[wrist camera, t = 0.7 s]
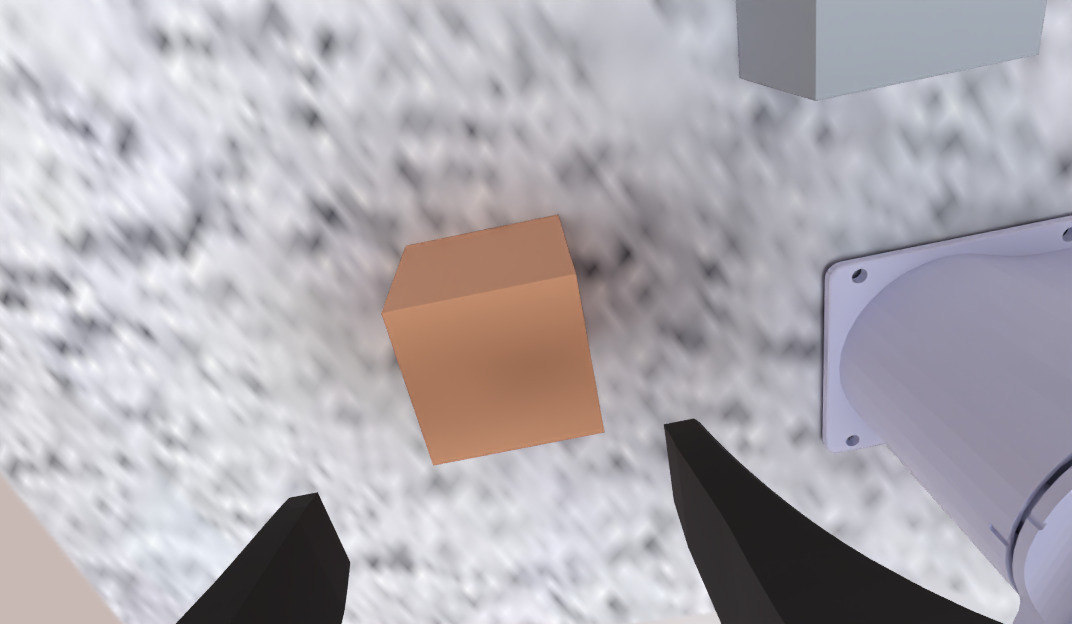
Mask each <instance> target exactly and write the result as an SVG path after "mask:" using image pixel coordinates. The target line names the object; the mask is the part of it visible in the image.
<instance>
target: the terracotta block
mask: <svg viewBox="0 0 1072 624" xmlns="http://www.w3.org/2000/svg"><path fill="white" fill-rule="evenodd" d="M381 314H382V317H383V320H384V323H385V325H386V328H387V331H388V334H389V337H390V340H391V343H392V346H393V349H394V352H395V355H396V358H397V361H398V363H399V366H400V369H401V372H402V375H403V378H404V381H405V384H406V387H407V390H408V393H409V396H410V399H411V402H412V404H413V407H414V410H415V413H416V416H417V419H418V422H419V425H420V428H421V431H422V434H423V437H424V440H425V443H426V445H427V448H428V451H429V454H430V457H431V460H432V463H433V465H438V464H443V463H448V462H454V461H459V460H464V459H469V458H474V457H479V456H485V455H490V454H495V453H500V452H505V451H510V450H516V449H521V448H526V447H531V446H536V445H541V444H547V443H552V442H557V441H562V440H567V439H572V438H578V437H583V436H588V435H593V434H598V433H603V432H604V428H603V422H602V416H601V411H600V405H599V400H598V394H597V388H596V383H595V377H594V372H593V366H592V361H591V355H590V349H589V344H588V338H587V333H586V327H585V321H584V316H583V310H582V305H581V299H580V294H579V288H578V282H577V277H576V272H575V269H574V266H573V262H572V259H571V256H570V252H569V249H568V246H567V242H566V239H565V236H564V233H563V229H562V226H561V223H560V219H559V216H558V215H554V216H549V217H544V218H539V219H534V220H529V221H524V222H520V223H515V224H510V225H505V226H500V227H495V228H490V229H486V230H481V231H476V232H471V233H466V234H461V235H456V236H451V237H447V238H442V239H437V240H432V241H427V242H422V243H417V244H412V245H408V246H406V247H405V250H404V252H403V255H402V258H401V261H400V263H399V266H398V269H397V272H396V274H395V277H394V280H393V283H392V285H391V288H390V291H389V293H388V296H387V299H386V302H385V304H384V307H383V310H382V313H381Z"/></svg>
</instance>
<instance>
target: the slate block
mask: <svg viewBox="0 0 1072 624" xmlns="http://www.w3.org/2000/svg"><path fill="white" fill-rule="evenodd" d="M1046 3H1047V0H736V12H737V34H738V57H739V78H742V79H745V80H748V81H751V82H755V83H758V84H761V85H765V86H768V87H771V88H775V89H778V90H781V91H785V92H788V93H791V94H794V95H798V96H801V97H804V98H808V99H811V100H814V101H818V100H822V99H827V98H832V97H837V96H842V95H846V94H851V93H856V92H861V91H866V90H870V89H875V88H880V87H885V86H890V85H894V84H899V83H904V82H909V81H914V80H918V79H923V78H928V77H933V76H938V75H942V74H947V73H952V72H957V71H962V70H966V69H971V68H976V67H981V66H986V65H990V64H995V63H1000V62H1005V61H1010V60H1014V59H1019V58H1024V57H1029V56H1034V55H1038V54H1039V48H1040V42H1041V35H1042V29H1043V22H1044V16H1045V9H1046Z"/></svg>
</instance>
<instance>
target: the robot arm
mask: <svg viewBox="0 0 1072 624" xmlns="http://www.w3.org/2000/svg"><path fill="white" fill-rule="evenodd" d="M1068 228H1069V230H1068V232H1067V233H1066V234H1065V235H1064V236H1063V233H1064V232H1065V231H1066V230H1067V229H1068ZM859 269H861V273H860V275H859V276H858V277H856V278H854V279H852V275H853V273H854V272H855V271H856V270H859ZM664 429H665V436H666V444H667V452H668V459H669V467H670V475H671V482H672V490H673V498H674V503H675V506H676V509H677V512H678V516H679V519H680V522H681V526H682V529H683V532H684V535H685V538H686V542H687V545H688V548H689V550H690V552H691V555H692V557H693V559H694V562H695V564H696V566H697V569H698V571H699V573H700V576H701V578H702V580H703V583H704V585H705V587H706V589H707V592H708V594H709V596H710V599H711V601H712V603H713V605H714V608H715V610H716V612H717V615H718V617H719V619H720V621H721V624H1003V623H1001V622H998V621H996V620H993V619H991V618H988V617H986V616H983V615H981V614H979V613H976V612H974V611H971V610H969V609H967V608H965V607H963V606H961V605H958V604H956V603H954V602H952V601H950V600H948V599H946V598H944V597H941V596H939V595H937V594H935V593H933V592H931V591H929V590H927V589H925V588H923V587H921V586H919V585H917V584H915V583H913V582H911V581H910V580H908V579H906V578H904V577H902V576H900V575H899V574H897V573H895V572H893V571H891V570H889V569H888V568H886V567H884V566H882V565H880V564H878V563H877V562H875V561H873V560H871V559H869V558H868V557H866V556H864V555H863V554H861V553H860V552H858V551H856V550H855V549H853V548H851V547H850V546H848V545H847V544H845V543H843V542H842V541H840V540H839V539H837V538H836V537H834V536H833V535H831V534H830V533H828V532H827V531H825V530H824V529H822V528H821V527H820V526H818V525H817V524H815V523H814V522H812V521H811V520H810V519H808V518H807V517H806V516H804V515H803V514H801V513H800V512H799V511H797V510H796V509H795V508H794V507H792V506H791V505H790V504H788V503H787V502H786V501H785V500H783V499H782V498H781V497H779V496H778V495H777V494H776V493H774V492H773V491H772V490H771V489H770V488H768V487H767V486H766V485H765V484H764V483H763V482H761V481H760V480H759V479H758V478H757V477H756V476H754V475H753V474H752V473H751V472H750V471H749V470H748V469H746V468H745V467H744V466H743V465H742V464H741V463H740V462H739V461H738V460H737V459H735V458H734V457H733V456H732V455H731V454H730V453H729V452H728V451H727V450H726V449H725V448H724V447H723V446H722V445H721V444H720V443H719V442H718V441H717V440H716V439H715V438H714V437H713V436H712V435H711V434H710V433H709V432H708V431H707V430H706V429H705V428H704V426H703V425H702V424H701V423H700V422H698V421H697V420H695V419H689V420H684V421H679V422H674V423H669V424H664ZM852 435H853V437H852V438H851V439H848V440H847V438H848V437H850V436H852ZM822 440H823V444H824V445H825V447H826V448H827V449H828V450H829V451H830V452H833V453H839V452H844V451H850V450H855V449H860V448H865V447H871V446H876V445H881V444H886V446H887V447H888V448H889V449H890V450H891V451H892V452H893V453H894V455H895V456H896V457H897V458H898V459H899V460H900V461H901V462H902V464H903V465H904V466H905V467H906V468H907V469H908V470H909V471H910V473H911V474H912V475H913V476H914V477H915V478H916V479H917V480H918V482H919V483H920V484H921V485H922V486H923V487H924V488H925V490H926V491H927V492H928V493H929V494H930V495H931V496H932V497H933V499H934V500H935V501H936V502H937V503H938V504H939V505H940V506H941V508H942V509H943V510H944V511H945V512H946V513H947V514H948V515H949V517H950V518H951V519H952V520H953V521H954V522H955V523H956V524H957V526H958V527H959V528H960V529H961V530H962V531H963V532H964V533H965V535H966V536H967V537H968V538H969V539H970V540H971V541H972V542H973V544H974V545H975V546H976V547H977V548H978V549H979V550H980V551H981V553H982V554H983V555H984V556H985V557H986V558H987V559H988V560H989V562H990V563H991V564H992V565H993V566H994V567H995V568H996V569H997V571H998V572H999V573H1000V574H1001V575H1002V576H1003V577H1004V579H1005V580H1006V581H1007V582H1008V583H1009V584H1010V585H1011V586H1012V588H1013V589H1014V590H1015V591H1016V592H1017V593H1018V594H1019V596H1020V608H1019V611H1018V613H1017V615H1016V617H1015V619H1014V621H1013V624H1072V215H1071V216H1066V217H1061V218H1056V219H1051V220H1046V221H1041V222H1036V223H1031V224H1026V225H1021V226H1016V227H1011V228H1006V229H1001V230H996V231H991V232H986V233H981V234H976V235H971V236H966V237H961V238H956V239H951V240H946V241H941V242H936V243H931V244H926V245H921V246H916V247H911V248H906V249H901V250H896V251H891V252H886V253H881V254H876V255H871V256H866V257H861V258H856V259H851V260H846V261H841V262H838V263H835V264H834V265H832V266H831V267H830V268H829V269H828V271H827V272H826V276H825V310H824V375H823V439H822ZM349 569H350V561H349V559H348V557H347V554H346V552H345V550H344V548H343V546H342V544H341V542H340V539H339V537H338V535H337V533H336V531H335V529H334V526H333V524H332V522H331V520H330V518H329V516H328V514H327V511H326V509H325V507H324V505H323V503H322V501H321V499H320V496H319V494H318V492H317V493H312V494H306V495H301V496H296V497H291V498H289V499H288V500H287V501H286V502H285V503H284V504H283V505H282V506H281V507H280V508H279V509H278V510H277V511H276V513H275V514H274V515H273V516H272V517H271V518H270V519H269V521H268V522H267V523H266V524H265V525H264V526H263V527H262V529H261V530H260V531H259V532H258V533H257V534H256V536H255V537H254V538H253V539H252V540H251V541H250V543H249V544H248V545H247V546H246V547H245V548H244V550H243V551H242V552H241V553H240V554H239V555H238V556H237V558H236V559H235V560H234V561H233V562H232V563H231V564H230V566H229V567H228V568H227V569H226V570H225V571H224V572H223V574H222V575H221V576H220V577H219V578H218V579H217V580H216V581H215V583H214V584H213V585H212V586H211V587H210V588H209V589H208V590H207V591H206V592H205V593H204V594H203V595H202V596H201V597H200V599H199V600H198V601H197V602H196V603H195V604H194V605H193V606H192V607H191V608H190V609H189V610H188V611H187V612H186V613H185V614H184V616H183V617H182V618H181V619H180V620H179V621H178V622H177V623H176V624H341V623H342V619H343V615H344V610H345V603H346V596H347V588H348V579H349Z"/></svg>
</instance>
